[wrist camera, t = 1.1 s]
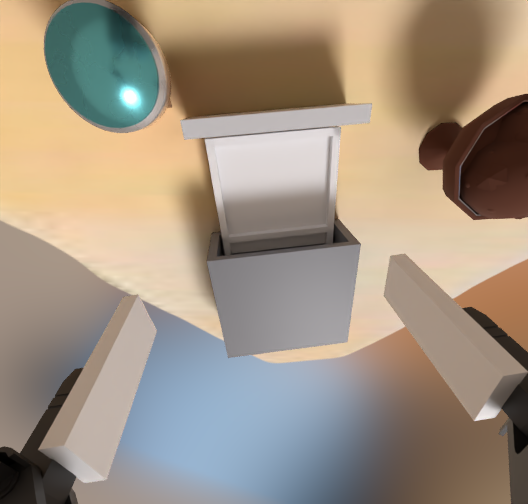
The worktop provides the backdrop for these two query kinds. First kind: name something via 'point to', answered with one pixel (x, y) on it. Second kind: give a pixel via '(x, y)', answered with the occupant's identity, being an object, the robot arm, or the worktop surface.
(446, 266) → the worktop surface
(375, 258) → the worktop surface
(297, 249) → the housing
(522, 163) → the ice cream bowl
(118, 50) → the disc
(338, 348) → the worktop surface
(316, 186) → the tray
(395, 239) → the worktop surface
